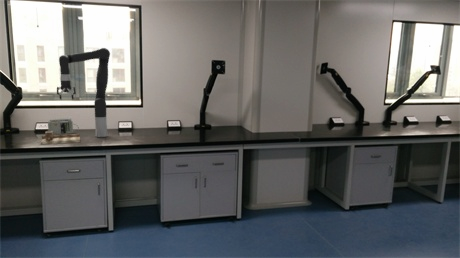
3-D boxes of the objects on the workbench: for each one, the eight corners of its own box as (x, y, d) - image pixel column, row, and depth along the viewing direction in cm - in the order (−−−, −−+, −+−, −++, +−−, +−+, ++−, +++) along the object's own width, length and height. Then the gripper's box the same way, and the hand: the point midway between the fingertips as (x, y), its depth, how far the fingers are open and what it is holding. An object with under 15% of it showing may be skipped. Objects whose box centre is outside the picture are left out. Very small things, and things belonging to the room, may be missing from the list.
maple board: (79, 138, 304) (79, 134, 303) (80, 142, 291) (79, 137, 291) (42, 140, 293) (41, 135, 292) (41, 144, 280) (40, 139, 280)
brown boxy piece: (53, 138, 294) (52, 130, 293) (52, 140, 285) (52, 133, 284) (46, 138, 292) (45, 131, 291) (45, 141, 283) (44, 133, 282)
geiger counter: (48, 119, 309) (78, 117, 324) (46, 118, 314) (77, 116, 329) (49, 135, 312) (79, 133, 327) (47, 134, 317) (77, 131, 332)
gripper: (74, 79, 306) (75, 98, 309) (56, 79, 300) (57, 99, 303) (74, 80, 299) (76, 99, 302) (55, 80, 294) (57, 100, 297)
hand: (66, 99), depth 303 cm, fingers open, 8 cm apart
